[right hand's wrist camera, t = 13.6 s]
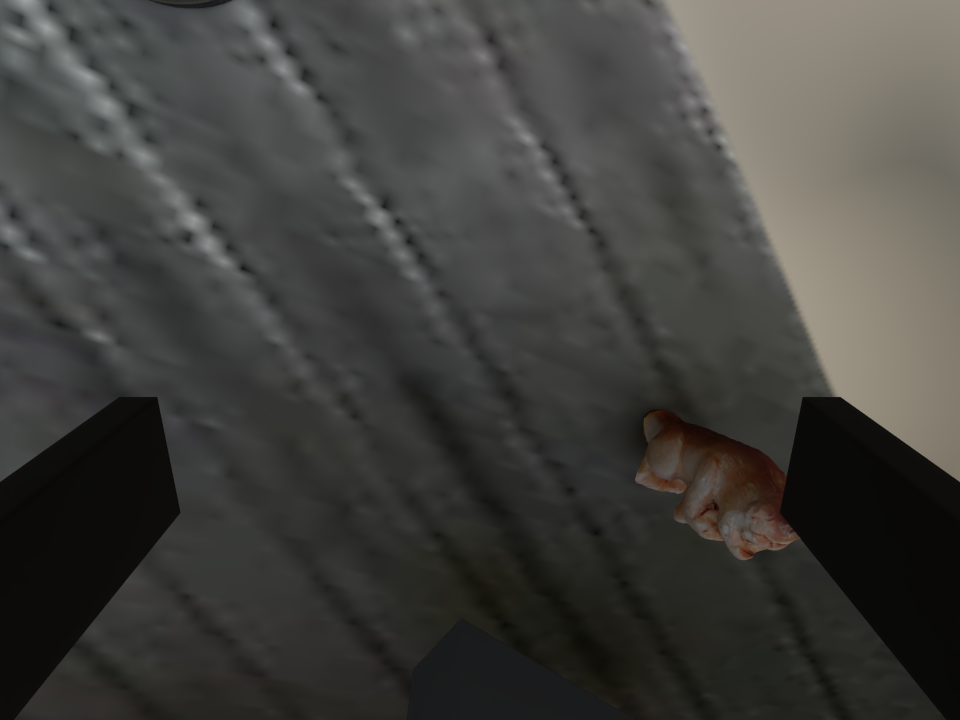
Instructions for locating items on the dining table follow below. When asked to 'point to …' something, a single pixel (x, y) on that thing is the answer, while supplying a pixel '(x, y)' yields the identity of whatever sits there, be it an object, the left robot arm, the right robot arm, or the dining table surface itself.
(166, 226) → the dining table surface
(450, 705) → the bar
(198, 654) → the dining table surface
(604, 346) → the dining table surface
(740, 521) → the figurine
